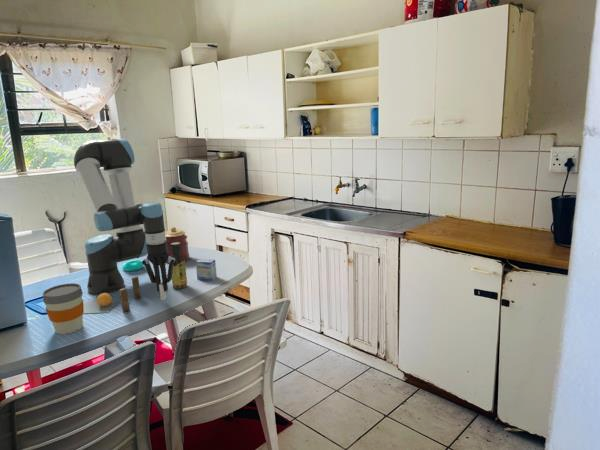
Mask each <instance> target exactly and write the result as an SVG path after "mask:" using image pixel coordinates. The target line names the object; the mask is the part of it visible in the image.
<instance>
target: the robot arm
mask: <svg viewBox="0 0 600 450" xmlns="http://www.w3.org/2000/svg"><path fill="white" fill-rule="evenodd" d="M134 163H135V153H134V150H133V148H132V145H131V144H130V142H129V141H128V140H127V139H126V138H125V139H124V138H111V139H102V140H101V139H100V140H89V141H86V142H84V143H83V144H81V145H80V146H79V147H78V148H77V150H76V151H75V154H74V157H73V165H74V169H75V172H76V173H77V174H79V176H80V175H81V179H82V181H83V183H84V185H85V187H86V189H87V193H88V194H89V195H88V196H89V197H90V199H91V202H92V204H93V206H94V209H95V211H96V212H94V214H93V221H94V225H95V228H96V230H97V231H99V232H107V231H108V232H109V231H112V230H116V231H115V236H113V234H110V233H106V234H99V235H96V236H93V237H91V238H89V239H87V240H86V241H85V243H84V251H85V252H84V253H85V256H86V261H87V267H88V272H89V273H88V281H87V287H86V288H87V292H88V293H89V294H93V295H100V294H102V293H108V294H109V293H112V292H116V291H117V290H120V289H123V287H124V286H125V280H124V278H123V276H122V274H121V272H120V270H119V267H118V263H122V262H125V261H126V262H127V261H131V260H136V259H140V258H143V257H145V256H146V258H144V259H143V260H141V261H142V264H143V267H144V268H145V270H146V272H147V276H148V278H149V281H150V282H151V283H152V284H155V285H156V291H157V292H159V294H160V300H161V301H165V300H166V299H167V292H168V290H169V285H168V283H170V282H172V271H173V264H174V261H175V260H176V259H175V258H172V257H170V256H169V254H168V250H167V242H166V235H165V232H166V229H165V220H164V210H163V207H162V203H160V202H158V201H157V202H156V201H152V202H145V203H138V204H135V198H134V193H133V188H132V182H131V177H130V171H131V170H132V168H133V167H132V165H133V164H134ZM101 168H103V171H104V173H106V174H107V175H108V178H109V184H110V189H111V191H110V189H109V186H108V185H107V182H106V180H105V177H104V176H103V174H102V171H101ZM141 225H143V226H141ZM167 260H169V261H168V262H169V263H168V267H167V268H168V270H166V261H167ZM151 264H152V265H153V266H152V265H151ZM152 267H153V268H152Z"/></svg>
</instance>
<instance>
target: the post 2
mask: <svg viewBox="0 0 600 450" xmlns="http://www.w3.org/2000/svg"><path fill="white" fill-rule="evenodd" d="M131 284H132V290H133V297H134V300H140V299H141V298H142V294H141V288H140V280H139V277H138V276H133V277H131Z"/></svg>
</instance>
